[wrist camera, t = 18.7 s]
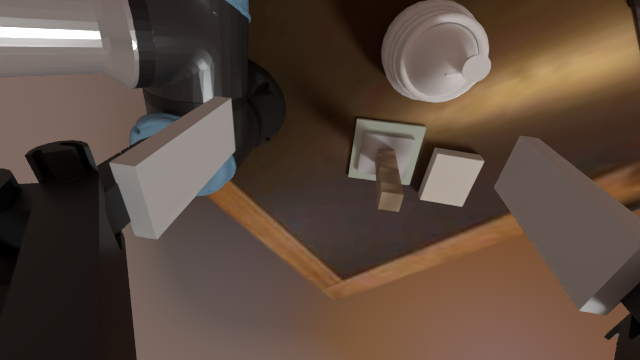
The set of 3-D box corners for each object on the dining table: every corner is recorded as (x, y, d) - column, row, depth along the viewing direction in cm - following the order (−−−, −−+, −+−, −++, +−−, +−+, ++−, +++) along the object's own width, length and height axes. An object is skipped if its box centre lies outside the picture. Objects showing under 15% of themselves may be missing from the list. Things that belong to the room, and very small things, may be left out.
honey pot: (467, -15, 39) (532, -25, 24) (471, 79, 45) (524, 119, 30) (373, 16, 42) (378, 24, 27) (388, 100, 48) (399, 145, 33)
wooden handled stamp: (357, 169, 55) (354, 219, 43) (363, 131, 51) (363, 173, 39) (403, 175, 55) (415, 227, 42) (414, 137, 50) (430, 182, 38)
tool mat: (348, 175, 57) (348, 176, 57) (357, 117, 51) (357, 119, 50) (409, 183, 56) (409, 185, 56) (425, 126, 50) (426, 127, 49)
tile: (457, 198, 57) (417, 191, 57) (479, 154, 51) (434, 146, 52) (461, 206, 55) (420, 199, 55) (484, 161, 49) (437, 153, 50)
